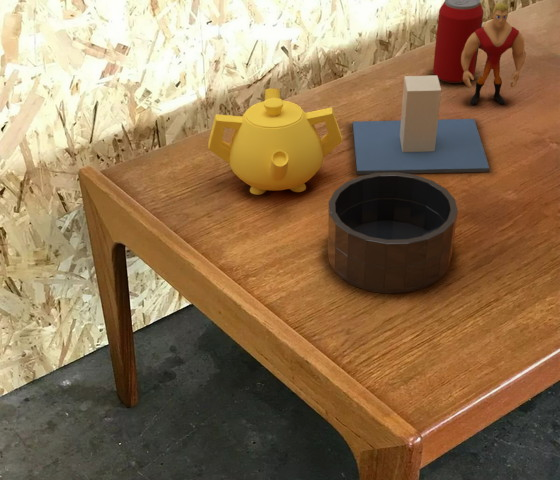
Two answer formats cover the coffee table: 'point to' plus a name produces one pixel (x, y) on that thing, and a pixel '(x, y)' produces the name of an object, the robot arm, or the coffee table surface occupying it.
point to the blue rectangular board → (445, 159)
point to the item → (420, 113)
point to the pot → (391, 232)
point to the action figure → (494, 51)
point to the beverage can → (455, 38)
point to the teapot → (275, 143)
